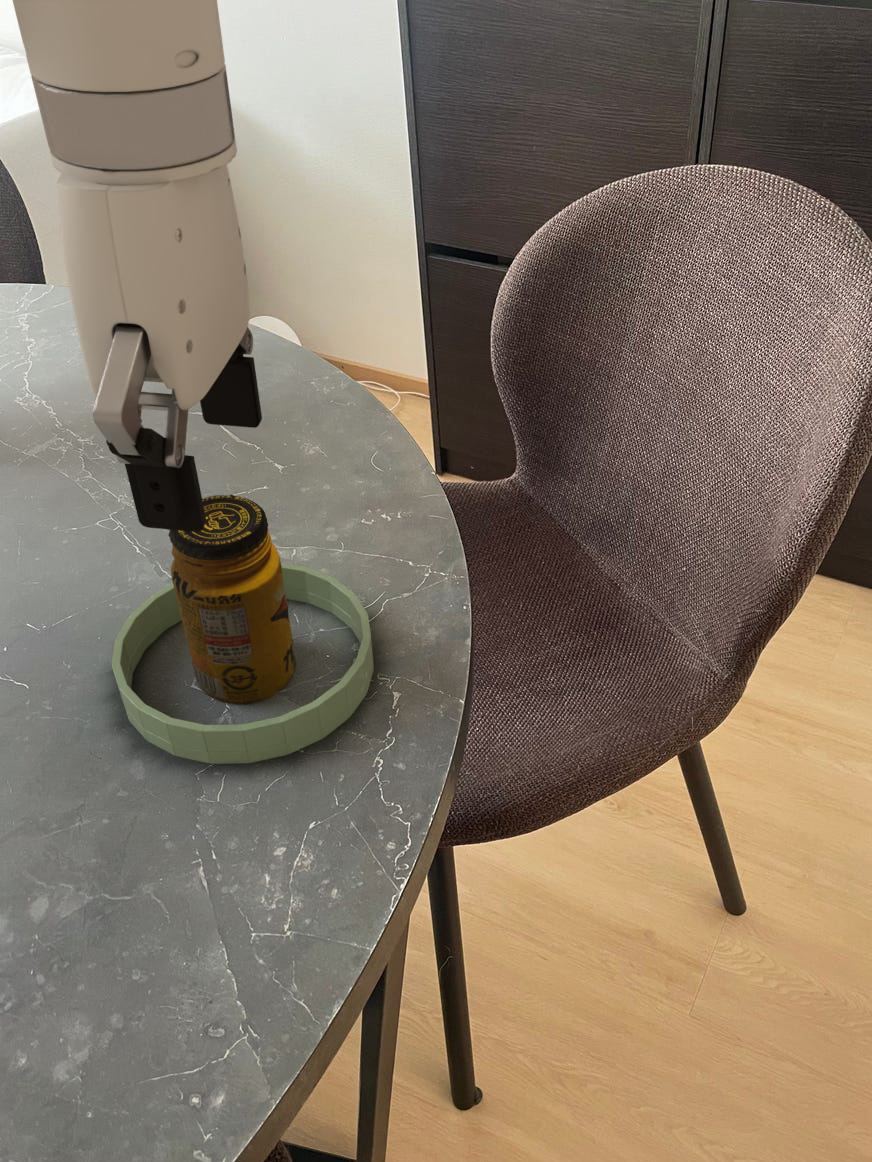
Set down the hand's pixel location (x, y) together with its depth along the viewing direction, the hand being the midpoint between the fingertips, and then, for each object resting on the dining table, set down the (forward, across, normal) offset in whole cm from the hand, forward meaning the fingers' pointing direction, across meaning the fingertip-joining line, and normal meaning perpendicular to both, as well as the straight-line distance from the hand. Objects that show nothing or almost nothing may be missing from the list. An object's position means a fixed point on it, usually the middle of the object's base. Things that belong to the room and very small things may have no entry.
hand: (205, 471), depth 54 cm
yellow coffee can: (+15, +1, 0) cm, 15 cm away
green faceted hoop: (+16, 0, 0) cm, 16 cm away
